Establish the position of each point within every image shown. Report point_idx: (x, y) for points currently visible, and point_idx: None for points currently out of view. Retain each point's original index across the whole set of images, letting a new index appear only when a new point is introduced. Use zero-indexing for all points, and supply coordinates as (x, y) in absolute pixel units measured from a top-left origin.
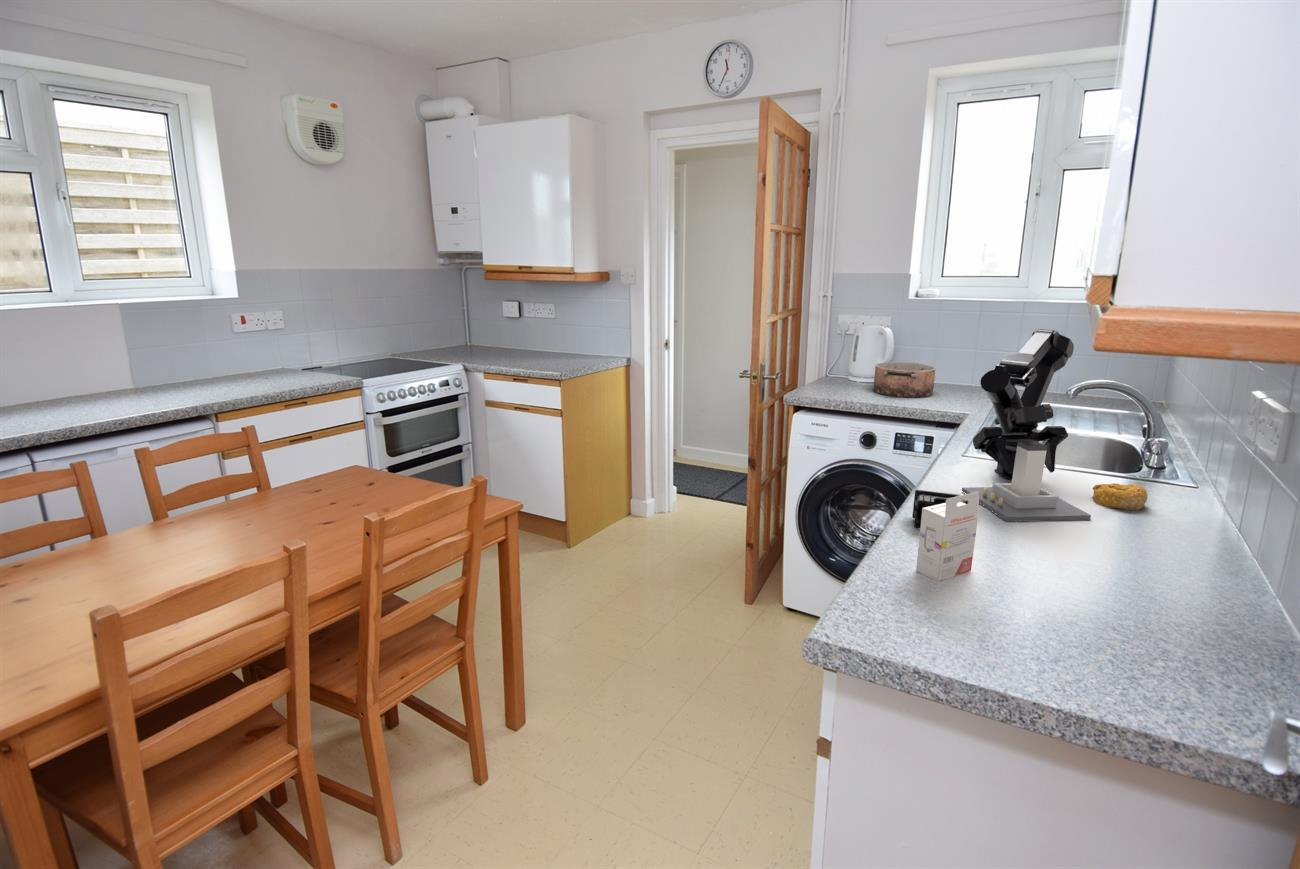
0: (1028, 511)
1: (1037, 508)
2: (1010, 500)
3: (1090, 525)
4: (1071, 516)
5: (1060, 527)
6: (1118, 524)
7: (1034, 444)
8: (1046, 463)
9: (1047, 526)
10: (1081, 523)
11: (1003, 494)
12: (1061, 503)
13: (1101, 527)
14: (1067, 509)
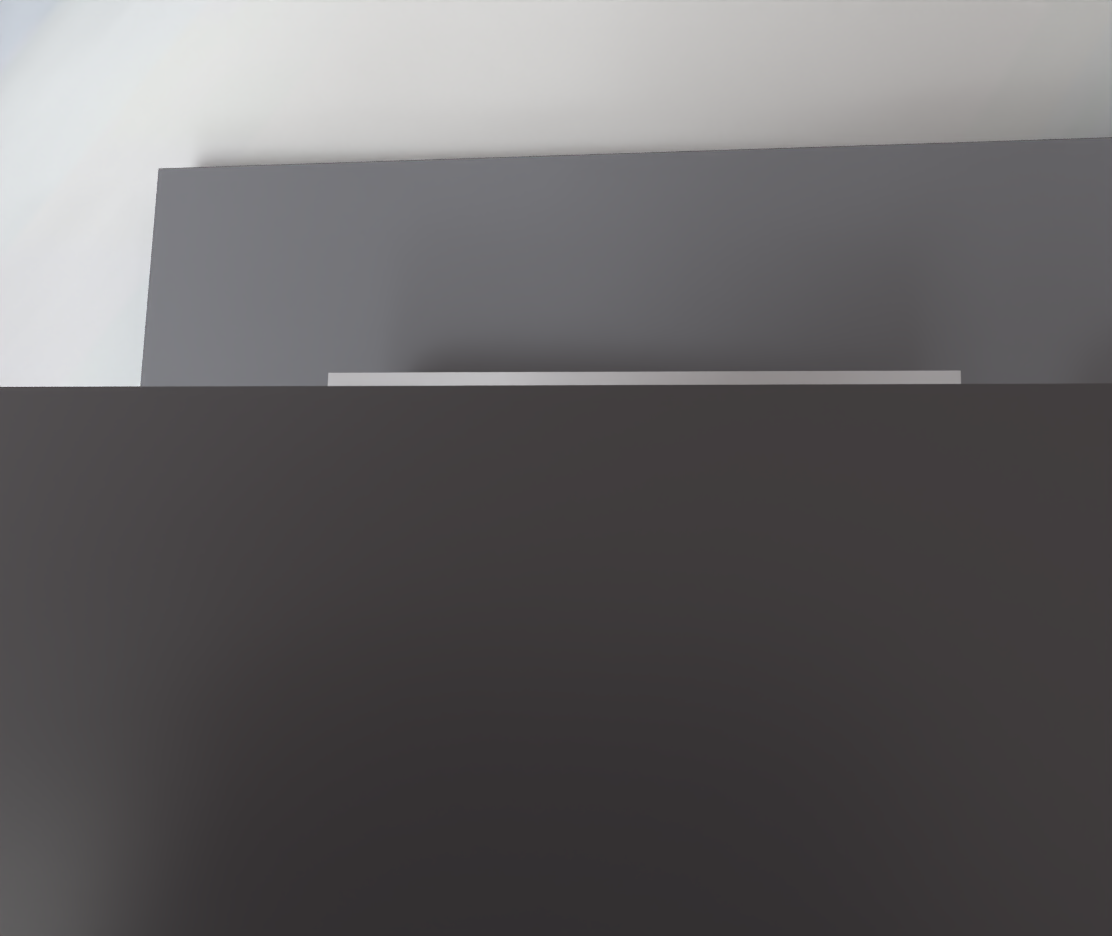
0: (802, 304)
1: None
2: None
3: (291, 53)
4: (380, 163)
5: (636, 3)
6: (8, 76)
7: (403, 838)
8: None
9: (759, 29)
10: (343, 104)
11: None
12: None
13: (224, 5)
14: (285, 347)
